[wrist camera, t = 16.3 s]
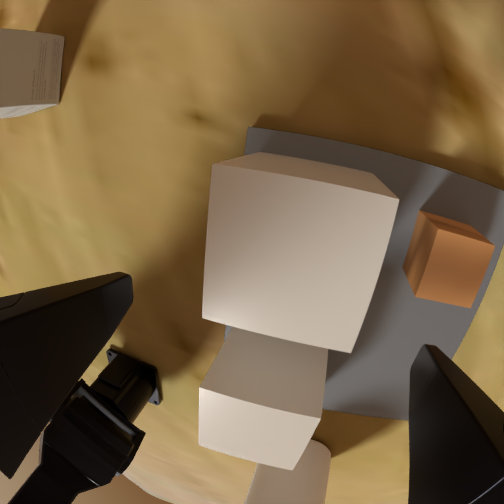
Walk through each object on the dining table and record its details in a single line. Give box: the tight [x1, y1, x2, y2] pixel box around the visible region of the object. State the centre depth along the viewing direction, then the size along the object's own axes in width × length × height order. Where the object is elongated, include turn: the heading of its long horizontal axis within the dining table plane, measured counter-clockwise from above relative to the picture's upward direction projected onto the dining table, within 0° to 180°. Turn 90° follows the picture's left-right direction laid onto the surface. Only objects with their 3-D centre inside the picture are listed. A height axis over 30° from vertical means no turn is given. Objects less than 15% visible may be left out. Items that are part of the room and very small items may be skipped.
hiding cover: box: [202, 152, 399, 353], centre depth 16 cm, size 7×7×8 cm
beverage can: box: [244, 439, 331, 504], centre depth 25 cm, size 8×8×12 cm
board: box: [224, 127, 504, 420], centre depth 21 cm, size 22×19×1 cm
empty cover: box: [199, 327, 328, 470], centre depth 20 cm, size 7×7×8 cm
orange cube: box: [402, 210, 495, 308], centre depth 16 cm, size 4×4×4 cm
